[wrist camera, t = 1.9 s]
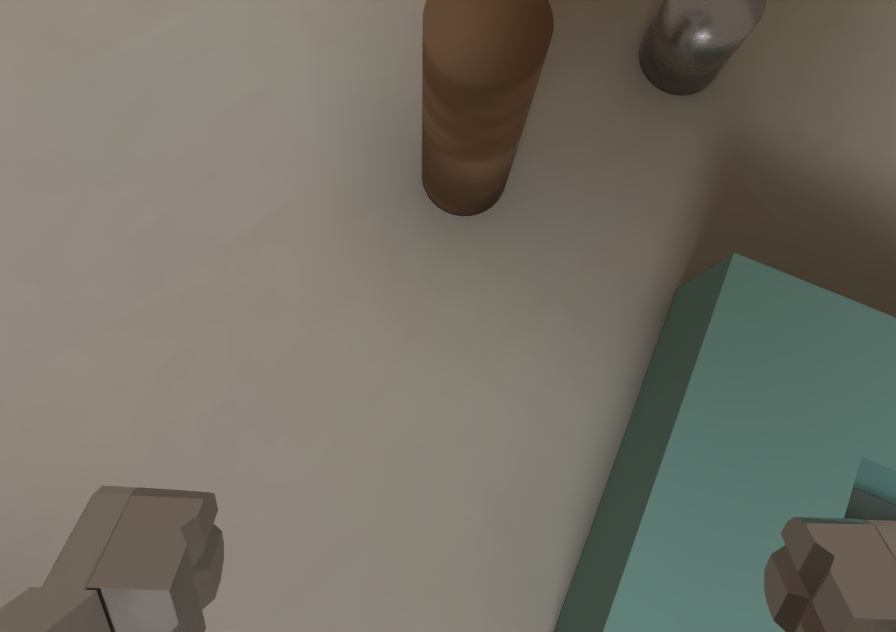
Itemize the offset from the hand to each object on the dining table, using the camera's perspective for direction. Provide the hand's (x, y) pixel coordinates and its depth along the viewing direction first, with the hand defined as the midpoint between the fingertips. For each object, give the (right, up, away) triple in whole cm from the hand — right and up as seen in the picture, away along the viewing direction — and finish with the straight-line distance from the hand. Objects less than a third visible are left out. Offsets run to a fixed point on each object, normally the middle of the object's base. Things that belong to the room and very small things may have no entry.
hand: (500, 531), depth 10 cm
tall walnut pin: (0, +8, +17) cm, 19 cm away
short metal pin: (+8, +13, +18) cm, 24 cm away
